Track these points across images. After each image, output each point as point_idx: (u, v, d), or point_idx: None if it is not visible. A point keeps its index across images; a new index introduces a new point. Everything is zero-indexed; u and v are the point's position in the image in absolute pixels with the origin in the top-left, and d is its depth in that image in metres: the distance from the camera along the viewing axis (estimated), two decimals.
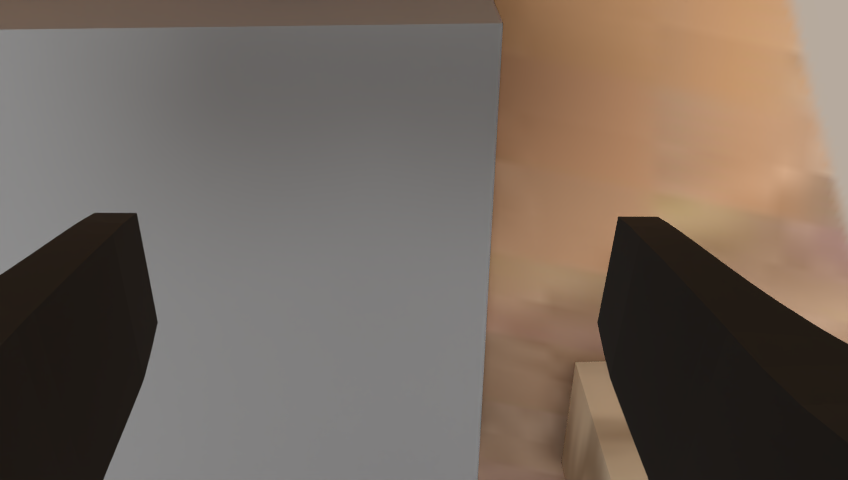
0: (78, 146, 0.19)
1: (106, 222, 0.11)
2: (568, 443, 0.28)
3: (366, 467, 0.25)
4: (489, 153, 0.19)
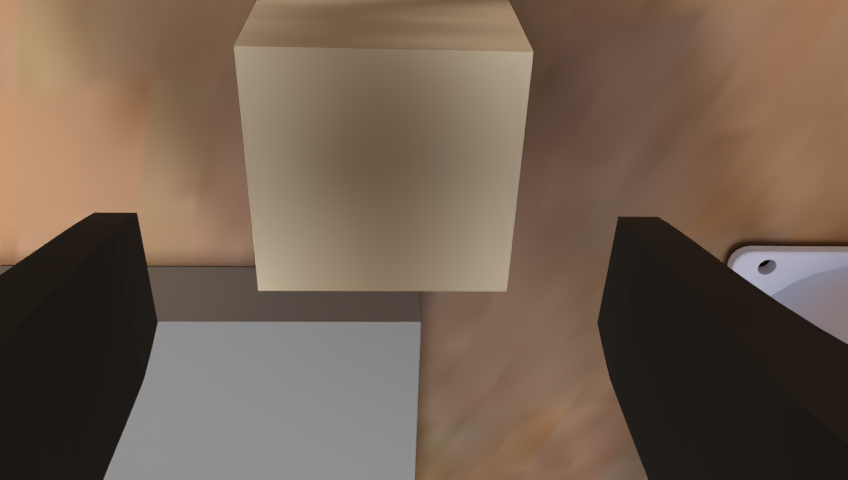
0: None
1: (106, 222, 0.11)
2: None
3: (364, 421, 0.22)
4: None
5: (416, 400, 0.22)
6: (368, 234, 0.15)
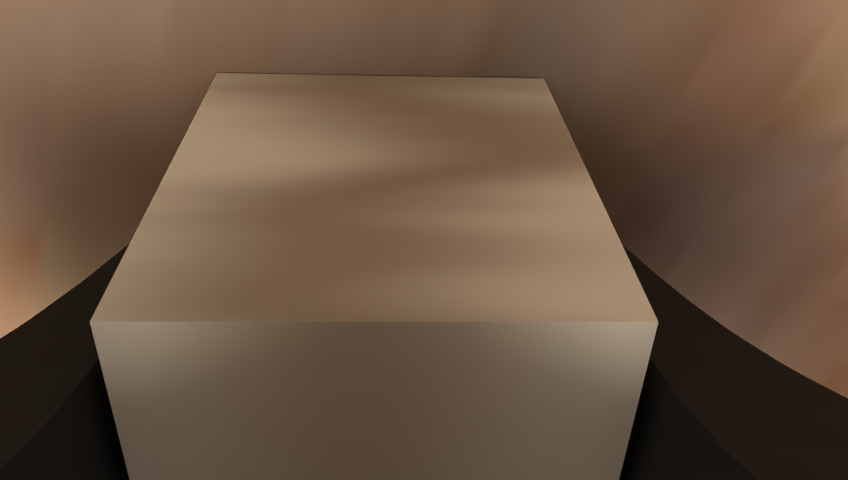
0: None
1: None
2: None
3: None
4: None
5: None
6: None
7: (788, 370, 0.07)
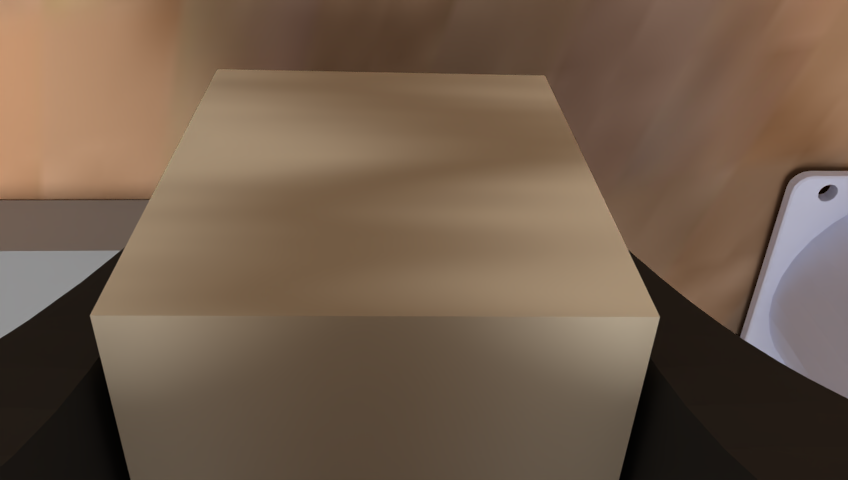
0: None
1: None
2: None
3: None
4: None
5: None
6: None
7: (788, 370, 0.07)
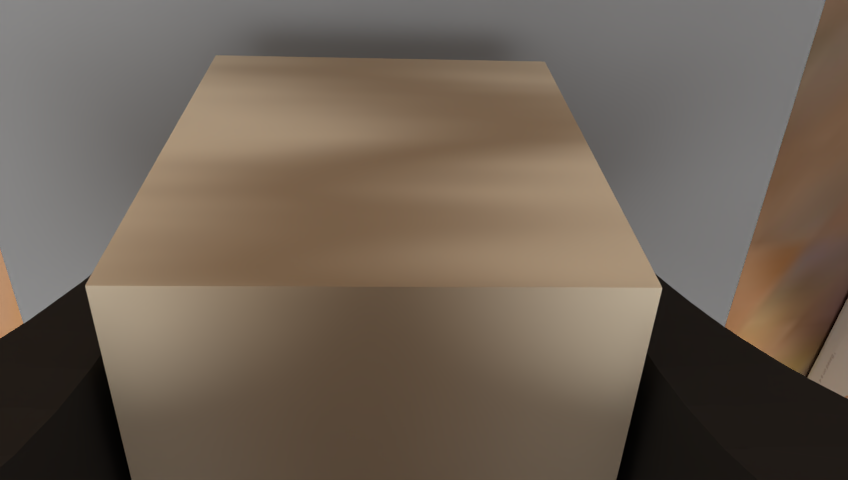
0: None
1: None
2: None
3: None
4: None
5: None
6: None
7: (788, 370, 0.07)
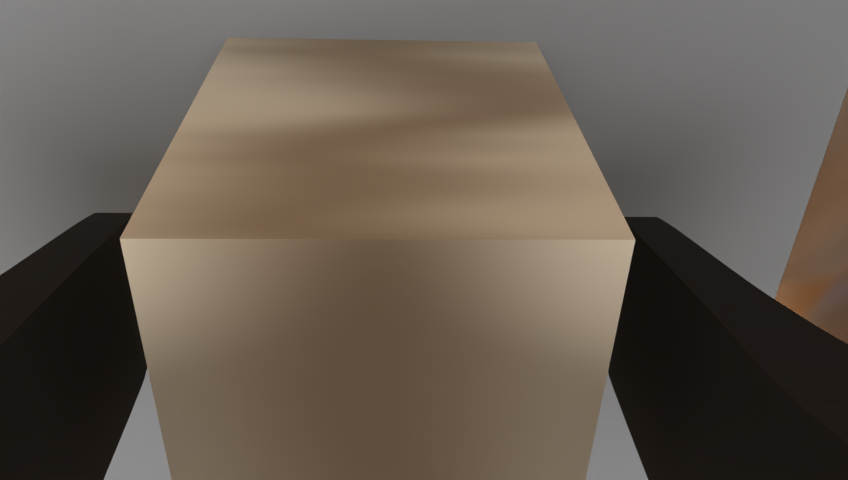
0: None
1: (106, 222, 0.11)
2: None
3: None
4: None
5: None
6: None
7: None
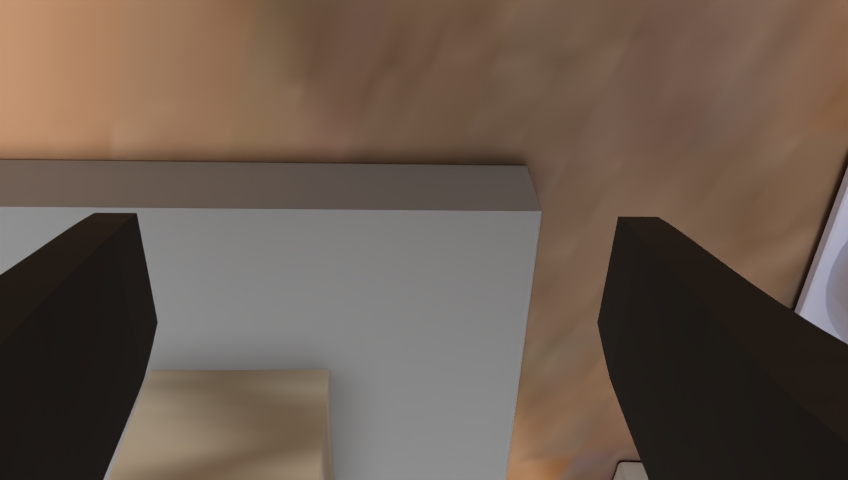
0: None
1: (106, 222, 0.11)
2: None
3: (472, 325, 0.21)
4: (22, 212, 0.19)
5: (528, 301, 0.21)
6: None
7: None
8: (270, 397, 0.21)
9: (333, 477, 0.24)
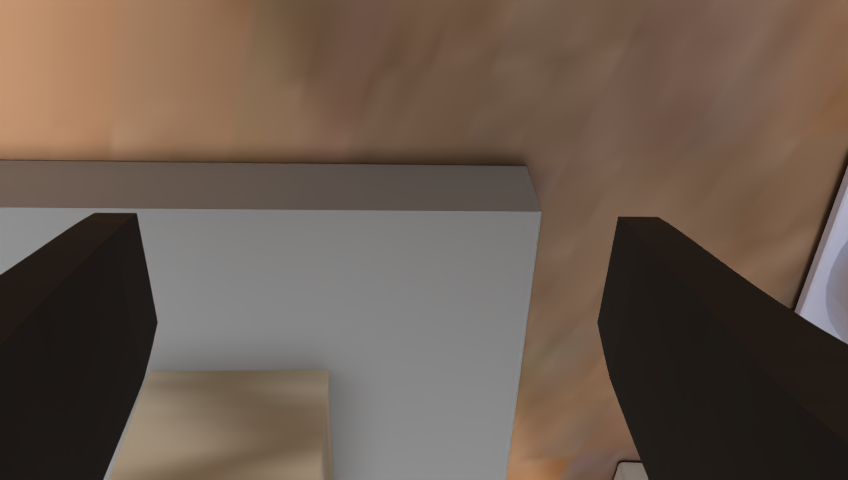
0: None
1: (106, 222, 0.11)
2: None
3: (472, 325, 0.21)
4: (22, 212, 0.19)
5: (528, 301, 0.21)
6: None
7: None
8: (270, 397, 0.21)
9: (333, 477, 0.24)
